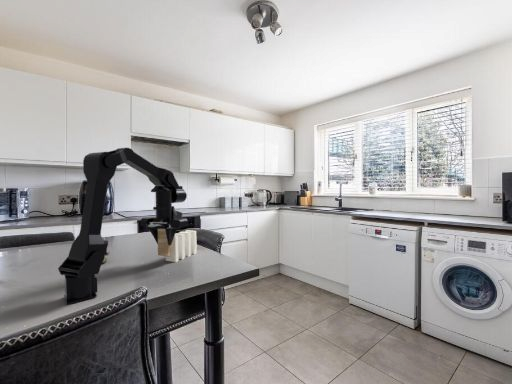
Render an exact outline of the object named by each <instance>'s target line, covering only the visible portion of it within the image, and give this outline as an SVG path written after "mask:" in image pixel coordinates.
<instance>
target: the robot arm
mask: <svg viewBox="0 0 512 384" xmlns="http://www.w3.org/2000/svg"><path fill="white" fill-rule="evenodd" d="M82 163H83V164H82V165H83V166H82V167H83V170H82V171H83V174H84V177H85V179H86V183H87V184H86V190H85V197H84V203H83V209H82V215H81V224H80V230H79V234H78V235H77V236H76V238H75V239H74V240H73V242H72V244H71V246H70V247H71V248H70V250H69V253H68V256H67V257H66V258H65V259H64V261H63V262H62V263H61V264H60V265H59V266H58V268H57V270H58V272H59V274H60V275H61V276H64V295H63V298H64V301H65V303H66V305H70V304H71V305H72V304H75V303H78V302H79V303H80V302H82V301H86V300H89V299H90V300H91V299H93V298H96V297H97V296H98V295H97V293H98V292H99V291H98V277H97V276H96V275H98V274H99V273H100V269H101V266H102V265H103V264H102V262H103V261H104V258H105V255H107V251H108V250H107V249H108V247H109V240H105V239H103V237H102V233H101V232H102V225H103V218H104V211H105V204H106V198H107V191H108V190H107V189H108V185H109V183H110V181H111V180H112V179H113V178H114V176H115V174H116V171H117V168H118V167H119V166H121V165H123V164H125V165H127V166H129V167H130V168H132V169H134V170H135V171H137V172H139V173H141V174H143V175H145V176H146V177H147V179H148V180H149V182H150V183H152V185H153V186H154V187H153V188H152V189H151V190H150V192H151V193H155V206H153V209H152V210H154V211H155V216H148V217H143V218H141V219H140V221H139V222H140V223H139V225H140V226H141V227H146V229H148V230H149V232H150V233H151V236H152V237H153V238H154V241H155V242H156V244H157V245H158V229H163V227H164V225H165V226H168V227H165V228H164V229H165V231H166V236H167V242H168V245H169V246H170V245H171V244H172V241H173V238H174V236H175V233H177V231H178V230H179V229H181V228H185V227H188V226H189V220H188V219H187V218H183V212H181V211H178V210H176V209H175V206H173V204H176V203H184V202H185V201H186V200H187V196H188V195H187V192H186V190H185V189H184V188H183V185H179V183H178V181H177V179H176V178H175V176H174V173H173V172H172V170H169V169H166V168H162V167H159V166H156V165H155V164H154V163H152V162H150V161H148V160H147V159H145V158H144V157H142V156H141V155H140V154H138V153H137V152H135V151H134V150H133V149H132V148H130V147H120V148H116V149H113V150H110V151H99V152H91V153H88V154H86V155H84V157H83V159H82Z"/></svg>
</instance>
